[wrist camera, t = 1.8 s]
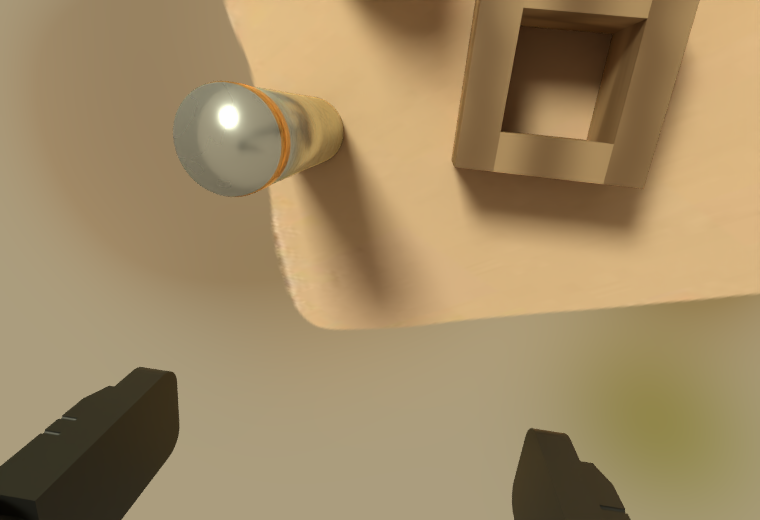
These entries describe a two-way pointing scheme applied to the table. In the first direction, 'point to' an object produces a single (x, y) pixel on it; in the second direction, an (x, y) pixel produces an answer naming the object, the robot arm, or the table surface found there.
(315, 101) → the metal pin
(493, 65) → the walnut pin block
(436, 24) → the table surface
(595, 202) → the table surface
